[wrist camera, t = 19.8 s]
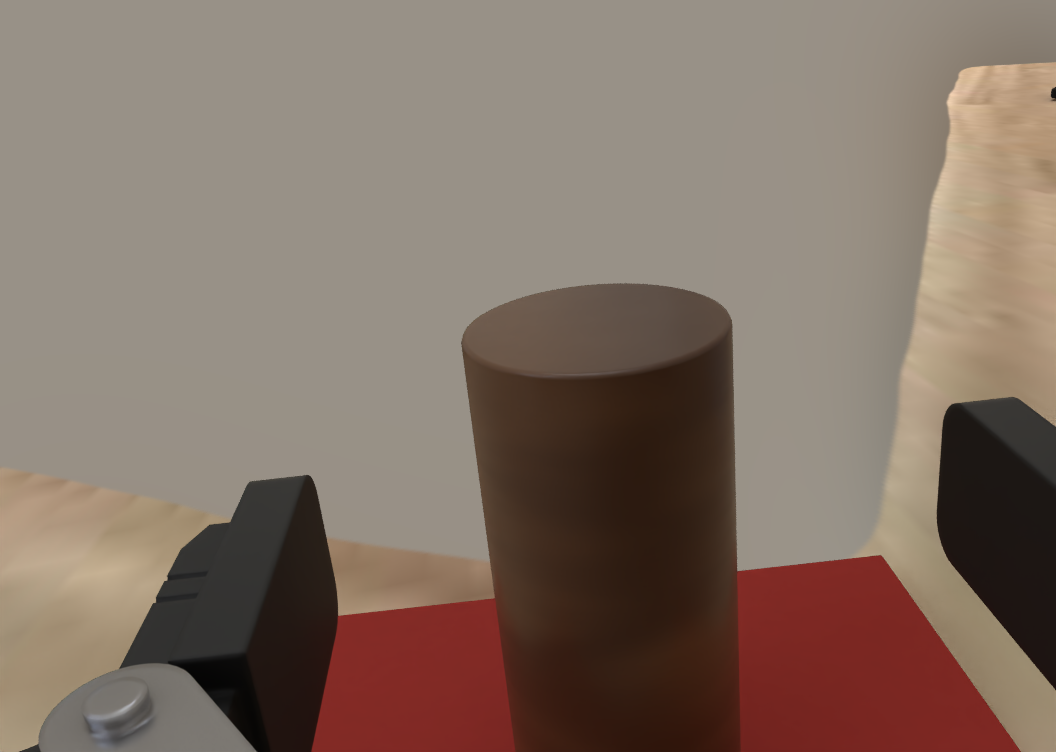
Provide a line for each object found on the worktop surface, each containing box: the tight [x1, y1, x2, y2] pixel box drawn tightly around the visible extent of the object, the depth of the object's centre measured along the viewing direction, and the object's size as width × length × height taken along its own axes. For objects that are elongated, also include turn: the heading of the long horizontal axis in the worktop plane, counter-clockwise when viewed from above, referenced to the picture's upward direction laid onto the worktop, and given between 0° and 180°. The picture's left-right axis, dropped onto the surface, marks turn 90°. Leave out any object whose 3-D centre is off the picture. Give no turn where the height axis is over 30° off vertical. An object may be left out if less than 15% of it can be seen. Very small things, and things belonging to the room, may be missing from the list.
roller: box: [461, 284, 741, 752], centre depth 18 cm, size 4×4×10 cm
